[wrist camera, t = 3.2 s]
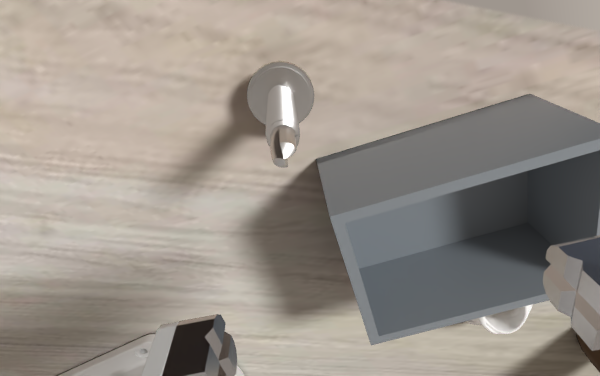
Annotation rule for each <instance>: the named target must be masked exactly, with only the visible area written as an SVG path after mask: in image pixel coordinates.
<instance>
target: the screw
mask: <svg viewBox="0 0 600 376" xmlns="http://www.w3.org/2000/svg"><path fill="white" fill-rule="evenodd" d="M247 100H248V105H249V108H250V110H251V112H252V113H253V115H254V116H255V117H256V118H257V119H258V120H259V121H260V122H261V123H263V124H264V125H266V132H265V134H266V139H267V143H268V145H269V146H270V149H271V157H272V160H273V163H274V164H275V165H276V166H278V167H284V168H285V167H288V162H287V158H288V157H290V156H292V155H293V154H294V153H295V151H296V148H297V145H298V143H299V137H300V129H299V123H300V122H302V121H303V120H304V119H305V118H306V117H307V116H308V114H309V113H310V111H311V109H312V106H313V103H314V89H313V85H312V83H311V80H310V78H309V77H308V75H307V74H306V73H305V72H304V71H303V70H302V69H301V68H300V67H298V66H296V65H295V64H292V63H289V62H284V61H277V62H271V63H268V64H266V65H264V66H262V67H261V68H259V69H258V70H257V71H256V72H255V73H254V75H253V76H252V78H251V80H250V82H249V85H248V89H247Z"/></svg>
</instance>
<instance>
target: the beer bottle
mask: <svg viewBox="0 0 600 376" xmlns="http://www.w3.org/2000/svg"><path fill="white" fill-rule="evenodd" d="M576 335H577V338H578V341H579V344H580V346H581V349H582V350H583V352H584V353H585V354H586V356H587V357H588V358H589V360H590V361H591V362H592V364H593V365H594V366H595V367H596V368H597V370H598V371H599V372H600V350H594V351H592V350H591V349H590V348H589V347H588V346H587V344H586V343H585V342H584V341H583V340H582V339H581V337H580V336H579V335H578V334H577V333H576Z"/></svg>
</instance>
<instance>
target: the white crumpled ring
mask: <svg viewBox="0 0 600 376" xmlns="http://www.w3.org/2000/svg"><path fill="white" fill-rule="evenodd" d="M532 305H533V304H532ZM532 305H528V306H524V307H520V308H516V309H512V310H508V311H504V312H500V313H496V314H492V315H488V316H485V317H481V318H477V319H473V320H469V321H466V322H467V323H470V324H474V325H482V326H483V327H484V328H485V329H486V330H487V331H489V332H491V333H494V334H509V333H512V332H515V331H516V330H518V329H519V328H520V327H521V326H522V325H523V324H524V322H525V321H526V319H527V317H528V314H529V312H530V310H531V308H532Z"/></svg>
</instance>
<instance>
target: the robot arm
mask: <svg viewBox="0 0 600 376" xmlns="http://www.w3.org/2000/svg"><path fill="white" fill-rule="evenodd" d="M546 259H547V261H548V262H549V263H550V264H551V265H550V266H549V267H548V268H547V269H546V270H545V271H544V274H543V285H544V289H545V292H546V295H547V296H548V298H549V300H550V302H551V303H552V304H553V305H554V307H555V308H556V309H557V310H558V311H559V312H562V313H564V314H566V315H568V316H570V317H571V327H572V328H573V329H574V330H575V332H576V333H577V334H578V335H579V336H580V337H581V339H582V340H583V341H584V342H585V343H586V344H587V346H588V347H589V348H590V349H591V350H592V351H594V350H600V235H598V236H594V237H588V238H583V239H579V240H574V241H570V242H565V243H560V244H556V245H551V246H550V247H549V248H548V249H547V253H546ZM224 330H225V322H224V320H223V318H222V316H221V315H218V314H216V315H211V316H205V317H200V318H194V319H188V320H183V321H179V322H174V323H168V324H163V325H161V326H160V327H159V328H158V329H157V331H156V334H149V335H146V336H143V337H141V338H139V339H137V340H135V341H132V342H130V343H128V344H126V345H124V346H122V347H119V348H117V349H115V350H113V351H111V352H108V353H106V354H104V355H102V356H100V357H97V358H95V359H93V360H91V361H89V362H87V363H84V364H82V365H80V366H78V367H76V368H73V369H71V370H69V371H67V372H65V373H63V374H60V375H58V376H244V374H243V372H242V371H241V369H240V368H239V367H238V366H237V354H236V347H235V344H234V341H233V338H232V336H231V335H230V334H228V333H226V332H224Z"/></svg>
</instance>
